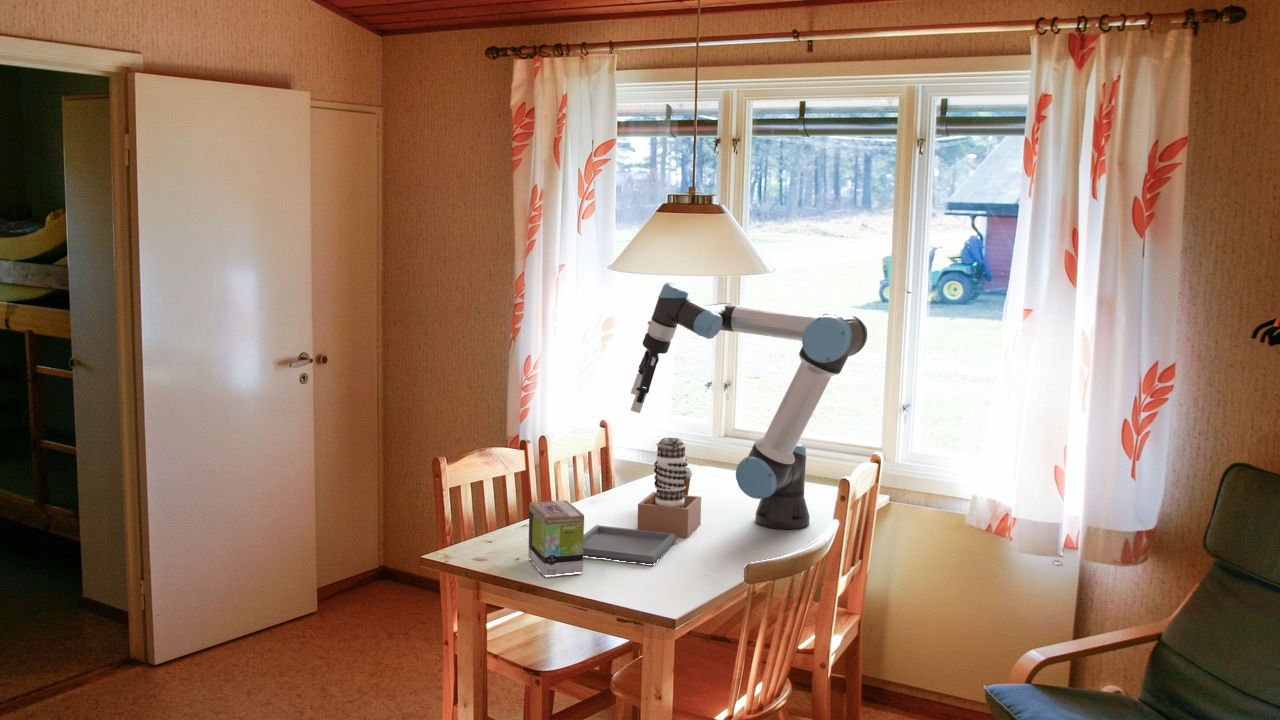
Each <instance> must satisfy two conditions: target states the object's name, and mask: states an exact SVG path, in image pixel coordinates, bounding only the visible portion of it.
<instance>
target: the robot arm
mask: <svg viewBox="0 0 1280 720" xmlns="http://www.w3.org/2000/svg"><path fill="white" fill-rule="evenodd" d="M689 293H690V292H689V290H688V288H686V287H684V286H683V285H680V284H678V283H673V282H666V283H664V284H663V286H662V288H661V291H660V293H659V295H658V299H657V301H656V304H655V307H654V310H653V313H652V316H651V318H650V320H648V321H647V325H648V327H647V329H646V330H647V332H645V335H644V338H643V340H642V346H643V347H644V348H645V349H646V350H645V351H644V355H643V357H642V358H641V361H640V364H639V365H638V370H637V371H638V372H637V375H636V376H635V380H634V383H633V385H632V388H631V391H630V394H631V395H634V399H633V403H632V404H631V407H630V411H631V412H634V413H638V414H640V413H641V411H642V408H643V406H644V403H645V400H646V397H647V395H648V394H649V393H650V389H651V388H650V387H651V384H652V381H653V377H654V375H655V372H656V367H657V365H658V363H659V359H660V358H659V357H660V356H659V354H664V355H665V354H667V353H668V351H669V350H670V346H671V344H672V343H671V341H672V340H673V338H674V336H675V332H676V330H677V326H678V325H680V326H682V327H684V328H685V329H687V330H689V331H691V332H693V333H695V334H696V335H698V336H699V337H702V338H705V339H707V340H711V339H713V338H715V337H716V336H717V335H718V333H719V332H720V331H724V332H732V333H733V332H734V333H735V332H736V333H743V334H750V335H755V336H756V335H757V336H766V337H771V338H772V337H773V338H779V339H787V340H793V341H801V344H802V347H801V349H800V351H799V353H798V356H799V359H800V361H801V362H800V364H799V366H798V368H797V370H796V372H795V374H794V376H793V378H792V380H791V382H790V384H789V386H788V388H787V390H786V391H785V394H784V396H783V398H782V399H781V401H780V403H779V406H778V408H777V410H776V412H775V414H774V416H773V418H772V420H771V422H770V424H769V426H768V427H767V428H768V429H767V430H766V432H765V434H764V436H763V437H762V438H758V439H756V440H755V441H754V444H753V445H752V447H751V450H750V452H749V454H747V457H744V458H743V459H742V460H740V462H739V463H738V464H737V466H736V469H735V479H736V481H737V486H738V487H739V489H740V490H741V492H742V493H744V494H745V495H747V496H748V497H750V498H752V499H756V500H757V499H758V500H759V502H758V505H757V509H756V511H755V519H754V520H755V522H756V523H757V524H758V525H760V526H762V527H766V528H770V529H779V530H796V529H803V528H806V527H808V526H809V524H810V514H809V509H808V506H807V503H806V498H805V483H806V465H807V464H806V462H807V452H806V450H807V449H806V446H805V445H804V444H802V443H800V441H799V440H800V438H801V437H802V435H803V433H804V431H805V429H806V428H807V426H808V423H809V421H810V419H811V418H812V415H813V414H814V412H815V410H816V407H817V406H818V404H819V401H820V400H821V397H822V396H823V393H824V392H825V390H826V388H827V385H828V384H829V383H830V380H831V378H832V377H834V376H837V375H840V373H841V372H842V370H843V368H844V366H845V364H846V362H847V360H848V358H849V357H851V356H854V355H856V354H858V353H859V352H861V350H863V348H864V347H865V345H866V343H867V340H868V328H867V326H866V324H865V322H864V321H863V320H862V319H861V317H859V316H858V315H856V314H855V313H852V312H827V311H826V312H825V311H824V312H822V313H821V314H820V315H819V314H811V313H804V312H794V311H787V310H786V311H785V310H779V309H778V310H777V309H770V308H762V307H752V306H745V305H744V306H743V305H736V304H733V303H730V302H721V303H720V302H719V303H716V304H706V305H704V304H703V305H702V304H699V303H697V302H695V301H693V300H691V299H690V298H688V297H689Z"/></svg>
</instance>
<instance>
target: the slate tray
mask: <svg viewBox="0 0 1280 720" xmlns="http://www.w3.org/2000/svg"><path fill="white" fill-rule="evenodd" d="M674 543H675V544H676V537H675V534H672V533H663V532H654V531H645V530H637V529H633V528H626V527H618V526H609V525H599V524H596V525H595V526H593V527H592V528H591V529H589V530H588V531H587V532H584V542H583V556H588V557H596V558H606V559H611V560H619V561H626V562H636V563H645V564H652V565H653V564H654V563H656V562H657V560H658V559H660V558H661V556H662V557H664V555H665V554H666V553H668V552H669V550H671V548H672V547H674V545H675V544H674ZM665 552H666V553H665ZM664 553H665V554H664ZM663 554H664V555H663ZM660 560H661V559H660ZM657 563H658V562H657Z"/></svg>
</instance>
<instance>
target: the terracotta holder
mask: <svg viewBox="0 0 1280 720" xmlns="http://www.w3.org/2000/svg"><path fill="white" fill-rule="evenodd" d="M656 496H657V494H656V491H652V492H651V493H650V494H649V495H647V496H646V497H645V498H643V499H642V500H641V501H640V502H639V503H638V504H637V527H636V528H637V529H636V530H645V531H654V532H663V533H672V534H675V538H677V539H678V538H679V539H686V538H688V539H689V538H690V537H691V536H692V535H693V534H694V532H695V531H696V530H697V529H698V528H699V527H700V526H701V520H702V519H701V517H702V513H701V512H702V496H698V495H689V494H688V495H684V504H685V505H686V506H685V508H681V507H671V506H661V505H654V504H655V503H656Z"/></svg>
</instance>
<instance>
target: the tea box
mask: <svg viewBox="0 0 1280 720" xmlns="http://www.w3.org/2000/svg"><path fill="white" fill-rule="evenodd" d="M528 506H529V509H528V518H529V519H528V559H529V558H530V559H531V561H532V562H533V563H534V564H535V566H536V567H537V568H538V569H539V570H540V572H541V573H542V574H543V575H556V574H565V573H574V572H583V570H584V558H583V542H584V534H585V515H584V514H583V513H582V511H580V510H578V508H576V507H575V506H574V505H573V504H572V503H570V502H569V501H568V500H563V499H562V500H552V501H550V500H549V501H536V502H535V501H534V502H533V501H532V502H529V505H528ZM531 561H530V562H531ZM532 562H531V563H532ZM535 566H534V567H535ZM536 567H535V568H536ZM537 568H536V569H537ZM540 572H539V573H540ZM541 573H540V574H541ZM542 574H541V575H542Z"/></svg>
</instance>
